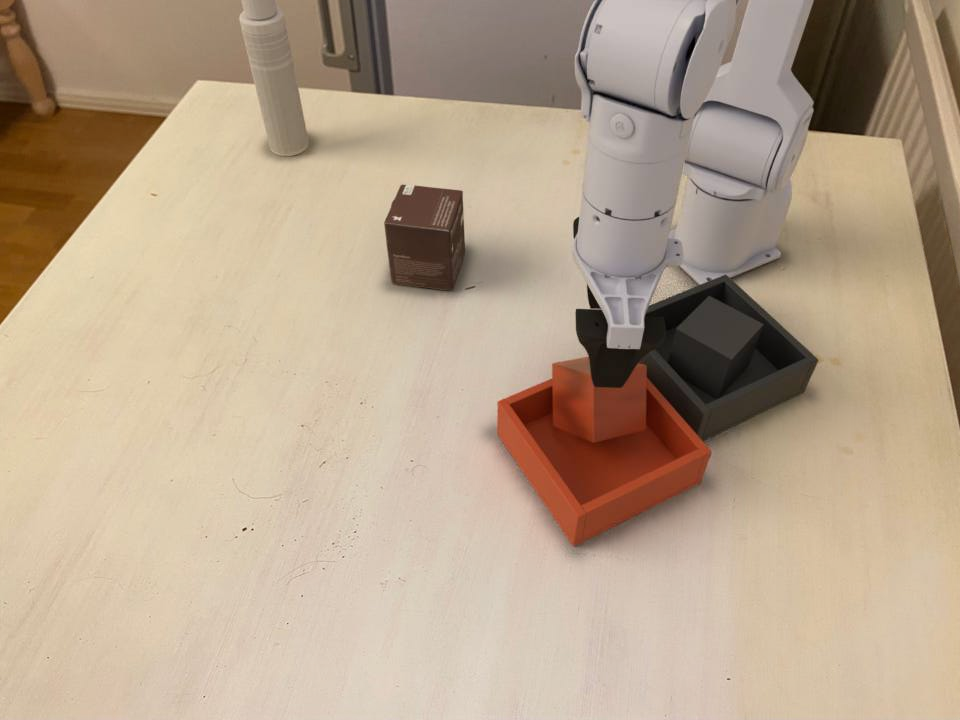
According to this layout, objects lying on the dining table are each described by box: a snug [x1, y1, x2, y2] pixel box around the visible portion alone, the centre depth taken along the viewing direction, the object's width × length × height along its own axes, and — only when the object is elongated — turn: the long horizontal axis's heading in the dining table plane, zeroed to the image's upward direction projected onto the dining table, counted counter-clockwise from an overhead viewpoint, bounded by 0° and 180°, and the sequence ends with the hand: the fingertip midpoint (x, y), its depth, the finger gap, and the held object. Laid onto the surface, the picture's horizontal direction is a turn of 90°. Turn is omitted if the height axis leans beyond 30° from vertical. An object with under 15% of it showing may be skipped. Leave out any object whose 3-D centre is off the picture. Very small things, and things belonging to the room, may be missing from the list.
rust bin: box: [496, 378, 712, 547], centre depth 61 cm, size 11×11×4 cm
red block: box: [551, 356, 647, 443], centre depth 61 cm, size 5×5×5 cm
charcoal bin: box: [639, 274, 820, 442], centre depth 67 cm, size 11×11×4 cm
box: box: [383, 184, 466, 291], centre depth 75 cm, size 6×6×7 cm
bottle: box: [238, 0, 310, 157], centre depth 84 cm, size 4×4×20 cm
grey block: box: [668, 296, 763, 399], centre depth 66 cm, size 5×5×5 cm
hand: (605, 343), depth 59 cm, fingers open, 7 cm apart
